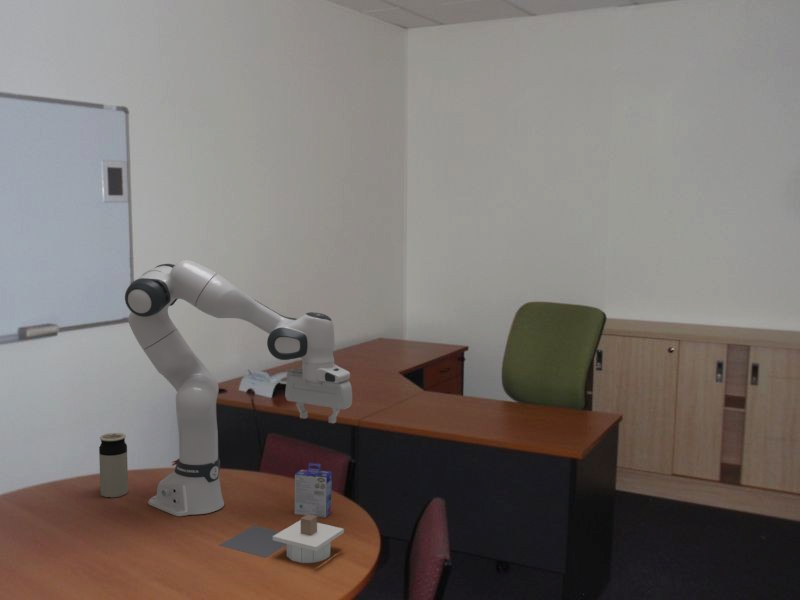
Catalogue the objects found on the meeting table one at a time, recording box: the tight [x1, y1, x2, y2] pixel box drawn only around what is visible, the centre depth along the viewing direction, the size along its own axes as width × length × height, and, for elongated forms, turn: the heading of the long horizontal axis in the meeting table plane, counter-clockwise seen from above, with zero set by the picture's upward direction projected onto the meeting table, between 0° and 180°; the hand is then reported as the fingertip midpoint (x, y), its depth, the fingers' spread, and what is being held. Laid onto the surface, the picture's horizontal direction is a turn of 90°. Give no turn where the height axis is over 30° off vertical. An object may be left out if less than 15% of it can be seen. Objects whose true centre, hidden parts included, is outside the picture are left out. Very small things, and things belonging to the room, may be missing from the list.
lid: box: [273, 514, 345, 551], centre depth 211 cm, size 13×13×5 cm
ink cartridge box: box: [293, 462, 333, 519], centre depth 239 cm, size 10×6×14 cm, turn 79°
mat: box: [218, 525, 287, 558], centre depth 219 cm, size 15×15×1 cm
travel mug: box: [98, 432, 129, 499], centre depth 251 cm, size 8×8×18 cm
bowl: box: [286, 541, 332, 564], centre depth 211 cm, size 11×11×5 cm
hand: (317, 420), depth 230 cm, fingers open, 8 cm apart
